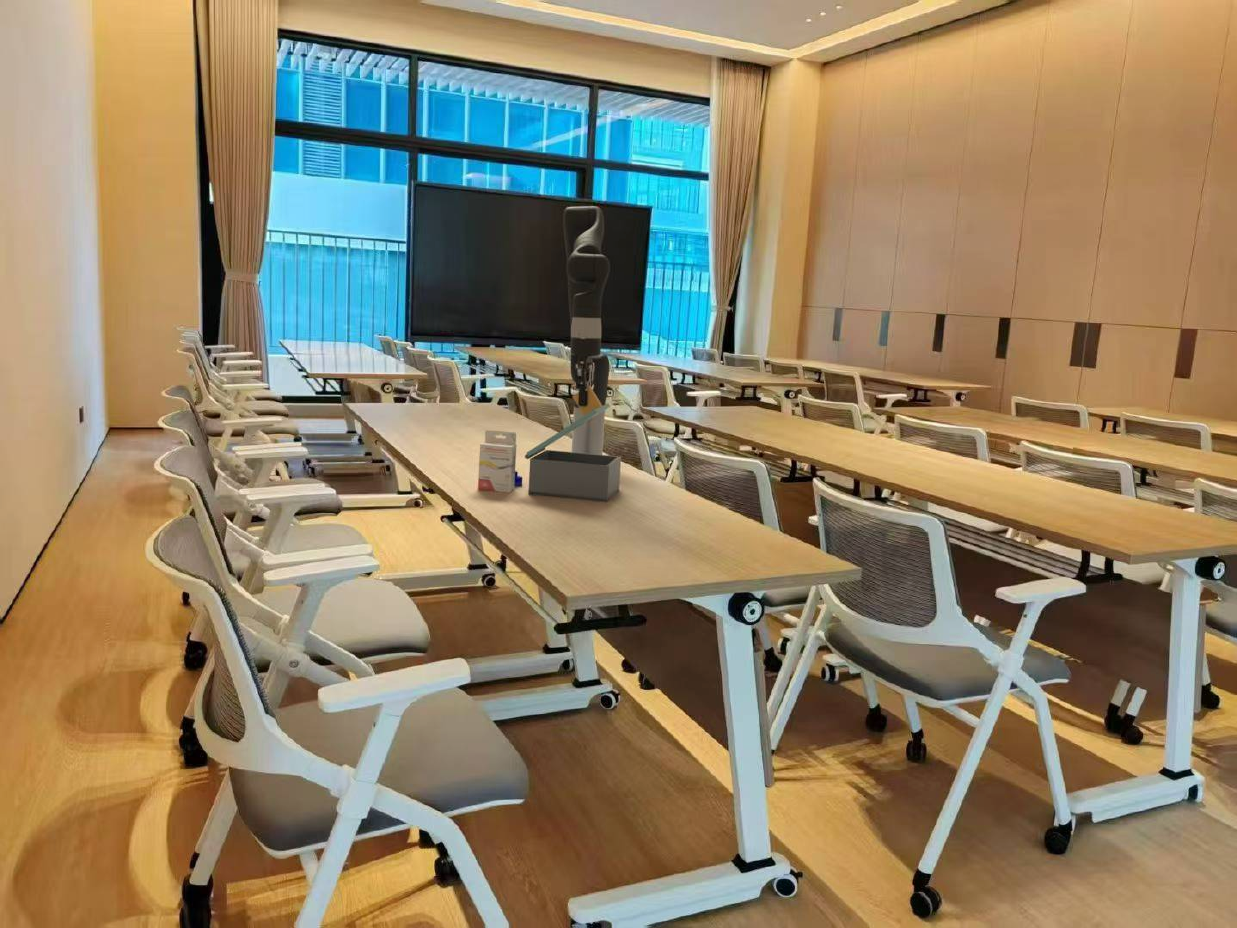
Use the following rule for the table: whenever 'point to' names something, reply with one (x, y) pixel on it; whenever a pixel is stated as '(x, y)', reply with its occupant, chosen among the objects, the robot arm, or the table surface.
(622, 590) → the table surface
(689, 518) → the table surface
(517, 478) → the cable holder
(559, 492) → the box
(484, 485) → the ink cartridge box
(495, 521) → the table surface
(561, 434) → the lid
